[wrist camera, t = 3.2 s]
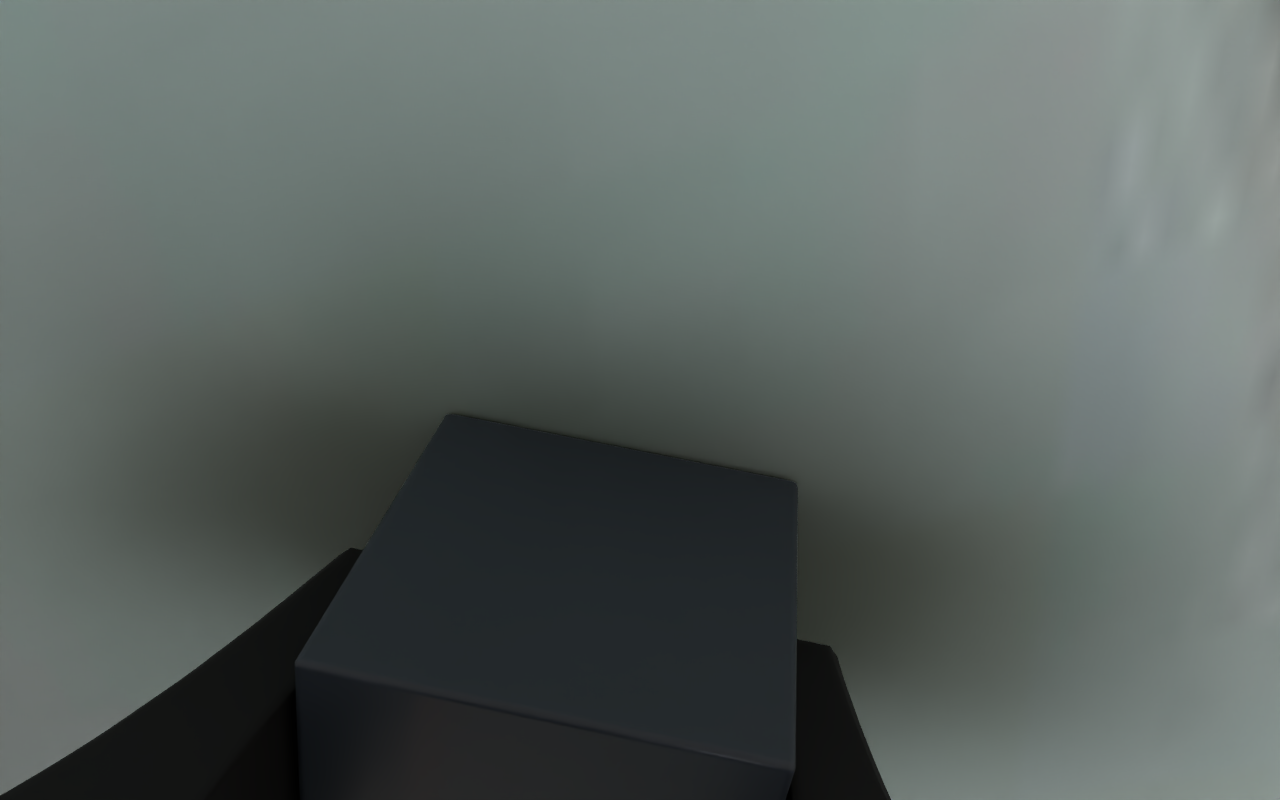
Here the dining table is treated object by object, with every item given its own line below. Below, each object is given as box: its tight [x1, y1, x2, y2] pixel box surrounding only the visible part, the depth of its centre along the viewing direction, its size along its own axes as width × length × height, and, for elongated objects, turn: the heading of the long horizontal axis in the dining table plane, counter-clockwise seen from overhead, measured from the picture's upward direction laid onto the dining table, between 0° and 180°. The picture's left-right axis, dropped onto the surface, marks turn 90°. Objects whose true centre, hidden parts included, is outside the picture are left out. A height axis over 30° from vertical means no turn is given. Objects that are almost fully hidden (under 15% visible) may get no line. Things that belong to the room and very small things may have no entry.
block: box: [295, 414, 798, 800], centre depth 11 cm, size 4×4×4 cm
